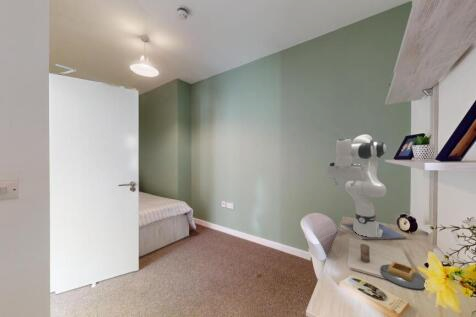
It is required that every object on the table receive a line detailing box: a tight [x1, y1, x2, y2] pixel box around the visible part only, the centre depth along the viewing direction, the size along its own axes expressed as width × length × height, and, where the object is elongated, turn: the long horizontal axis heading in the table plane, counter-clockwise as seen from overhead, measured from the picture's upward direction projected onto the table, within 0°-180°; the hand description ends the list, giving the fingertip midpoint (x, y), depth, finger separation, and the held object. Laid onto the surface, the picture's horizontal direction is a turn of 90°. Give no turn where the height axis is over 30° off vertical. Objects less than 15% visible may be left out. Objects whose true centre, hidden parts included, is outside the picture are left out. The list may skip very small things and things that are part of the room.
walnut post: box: [360, 243, 371, 263], centre depth 100 cm, size 4×4×8 cm
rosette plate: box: [379, 260, 426, 291], centre depth 85 cm, size 16×16×4 cm
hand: (344, 185), depth 114 cm, fingers open, 8 cm apart
